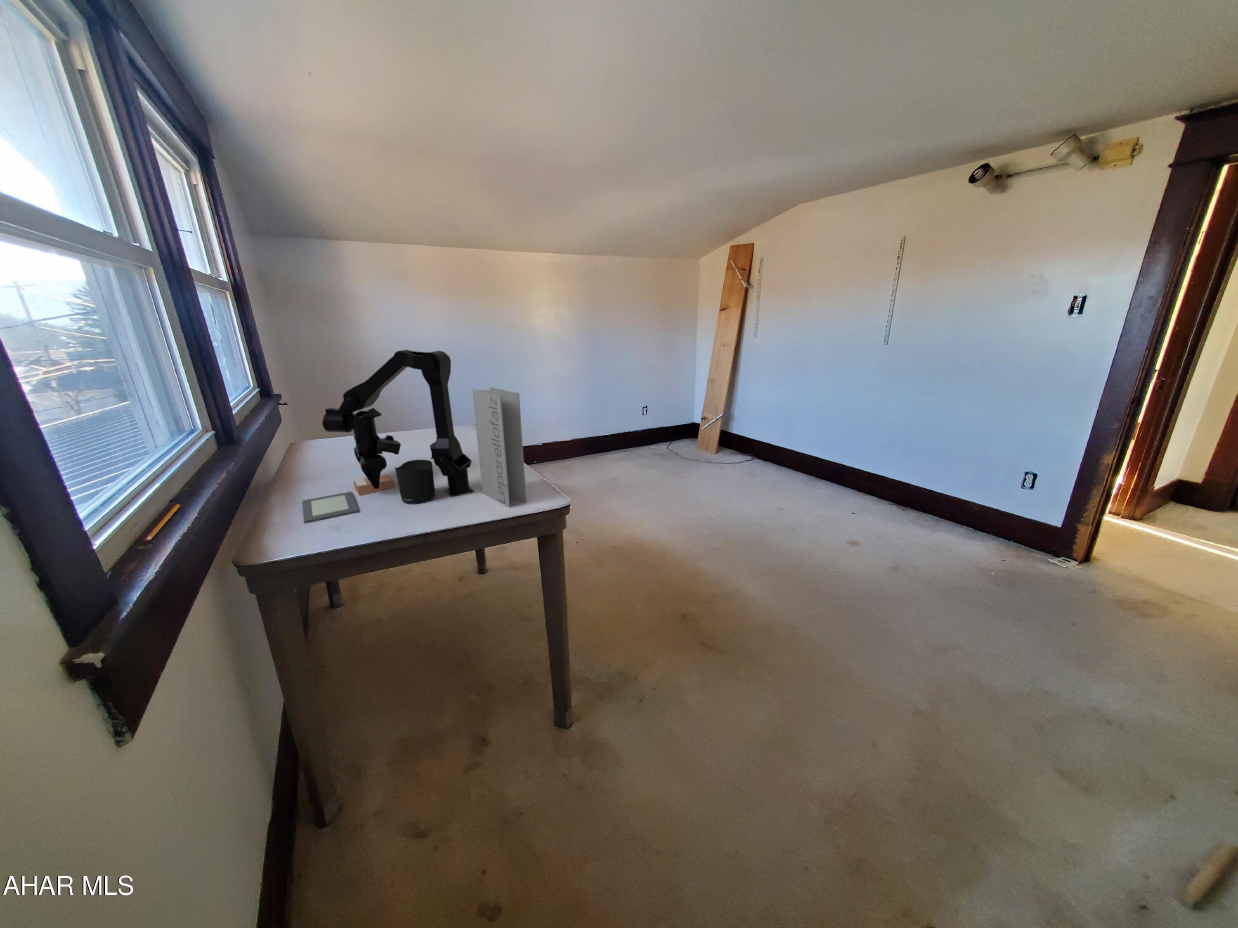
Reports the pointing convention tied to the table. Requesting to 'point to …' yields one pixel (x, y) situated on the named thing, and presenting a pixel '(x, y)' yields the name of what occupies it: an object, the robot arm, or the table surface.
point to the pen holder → (416, 481)
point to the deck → (366, 487)
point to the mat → (329, 507)
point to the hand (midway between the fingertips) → (374, 483)
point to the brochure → (500, 444)
